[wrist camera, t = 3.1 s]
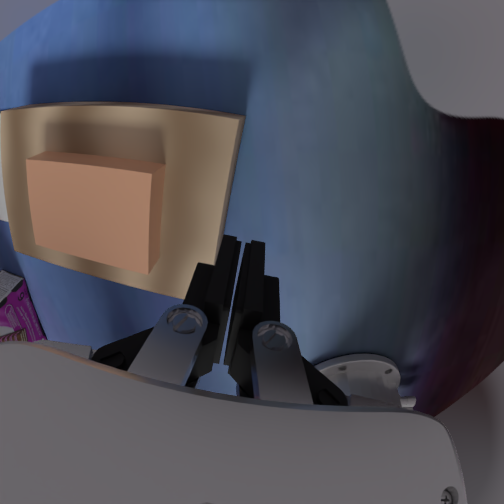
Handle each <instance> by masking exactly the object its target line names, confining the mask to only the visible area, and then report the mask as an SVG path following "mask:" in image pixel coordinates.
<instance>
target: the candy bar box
mask: <svg viewBox="0 0 504 504" xmlns="http://www.w3.org/2000/svg"><path fill="white" fill-rule="evenodd" d="M38 340H47V339H46V337H45V335H44V332H43V330H42V328H41V325H40V323H39V320H38V317H37V315H36V312H35V309H34V307H33V304H32V301H31V298H30V295H29V292H28V289H27V286H26V283H25V279H24V278H22V277H20V276H18V275H14V274H11V273H9V272H7V271H4V270H1V271H0V343H1V342H6V341H27V342H35V341H38Z"/></svg>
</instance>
